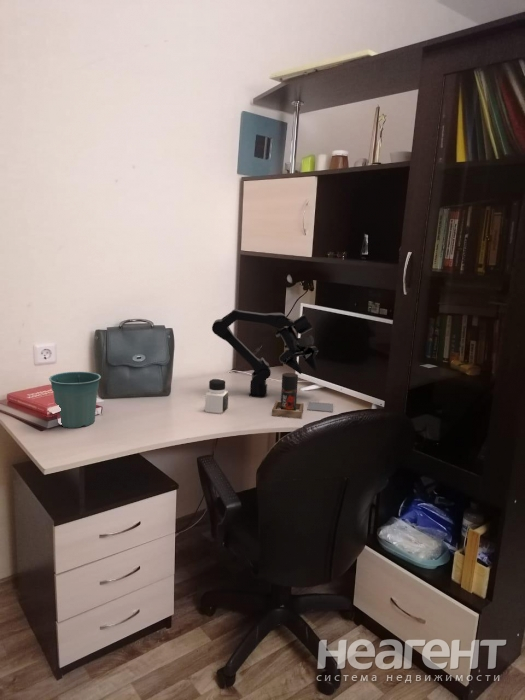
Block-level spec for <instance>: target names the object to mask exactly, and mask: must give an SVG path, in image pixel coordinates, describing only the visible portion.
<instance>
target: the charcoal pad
mask: <svg viewBox="0 0 525 700" xmlns="http://www.w3.org/2000/svg"><path fill="white" fill-rule="evenodd" d="M306 410H307V411H311V410H312V412H313V411H314V412H321V413H323V412H325V413H334V403H329V402H328V403H327V402H316V401H308V403H307V409H306Z"/></svg>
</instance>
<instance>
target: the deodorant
mask: <svg viewBox="0 0 525 700" xmlns="http://www.w3.org/2000/svg"><path fill="white" fill-rule="evenodd" d="M298 378H299V375H298V373H294V372H284V373H282V375H281V389H280V390H281V392H280V394H281V395H280V401H281V408H280V409H282V410H293V411H297V410H296V403H297V398H298V397H297V396H298V380H299V379H298Z"/></svg>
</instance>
